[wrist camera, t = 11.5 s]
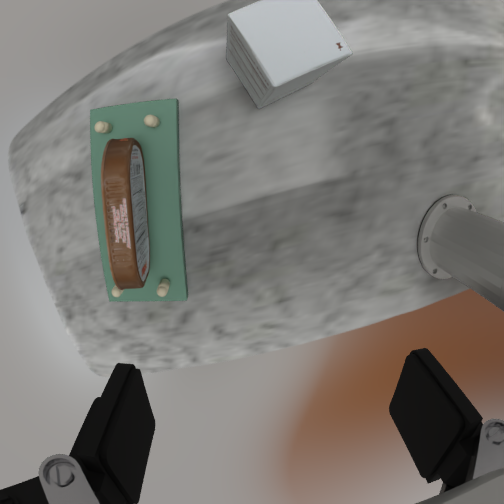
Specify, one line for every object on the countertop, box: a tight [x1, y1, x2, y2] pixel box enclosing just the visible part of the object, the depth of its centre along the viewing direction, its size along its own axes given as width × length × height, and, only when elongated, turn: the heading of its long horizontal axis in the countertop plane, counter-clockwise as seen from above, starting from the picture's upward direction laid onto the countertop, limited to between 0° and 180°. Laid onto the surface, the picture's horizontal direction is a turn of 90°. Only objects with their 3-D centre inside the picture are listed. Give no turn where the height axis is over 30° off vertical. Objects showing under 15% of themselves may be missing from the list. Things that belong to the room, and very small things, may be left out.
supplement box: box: [226, 0, 353, 109], centre depth 24 cm, size 7×7×13 cm
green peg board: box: [90, 99, 188, 301], centre depth 31 cm, size 10×23×5 cm, turn 1°
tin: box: [101, 138, 150, 290], centre depth 28 cm, size 15×3×8 cm, turn 0°
